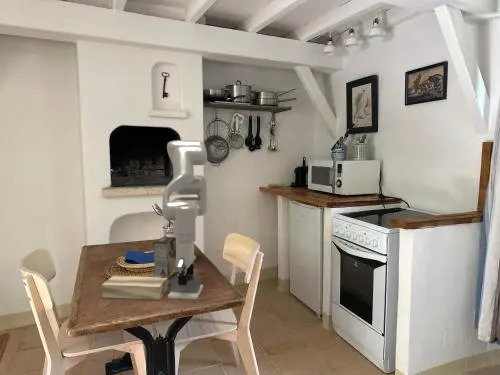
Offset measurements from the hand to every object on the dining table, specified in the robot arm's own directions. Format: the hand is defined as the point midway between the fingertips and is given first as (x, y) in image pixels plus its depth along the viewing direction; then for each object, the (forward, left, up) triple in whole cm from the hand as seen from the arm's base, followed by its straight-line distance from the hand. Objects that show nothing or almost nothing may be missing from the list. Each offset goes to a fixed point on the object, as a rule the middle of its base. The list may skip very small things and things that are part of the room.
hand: (186, 279), depth 131 cm
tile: (0, 0, -5) cm, 5 cm away
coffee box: (-17, -14, -5) cm, 22 cm away
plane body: (+3, -19, -5) cm, 20 cm away
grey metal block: (0, 0, -4) cm, 4 cm away
